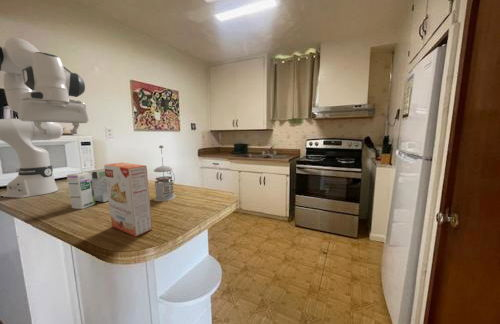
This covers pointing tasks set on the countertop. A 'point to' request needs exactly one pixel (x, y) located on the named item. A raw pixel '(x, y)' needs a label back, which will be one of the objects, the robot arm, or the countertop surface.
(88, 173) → the syrup box
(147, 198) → the cracker box
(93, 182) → the gray block
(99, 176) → the white topped bridge
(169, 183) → the french press
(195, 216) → the countertop surface
